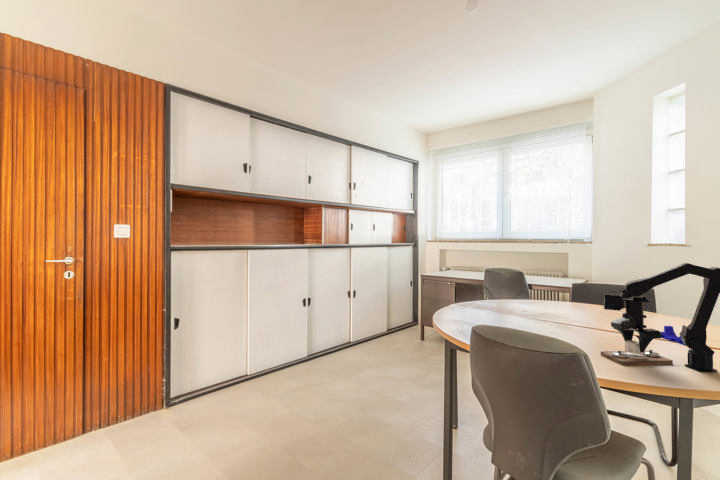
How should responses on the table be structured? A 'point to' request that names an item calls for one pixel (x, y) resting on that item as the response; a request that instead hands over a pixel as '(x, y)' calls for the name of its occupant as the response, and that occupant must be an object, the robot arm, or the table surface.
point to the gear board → (636, 359)
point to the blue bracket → (671, 335)
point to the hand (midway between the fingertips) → (635, 349)
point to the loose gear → (633, 347)
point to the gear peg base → (647, 353)
